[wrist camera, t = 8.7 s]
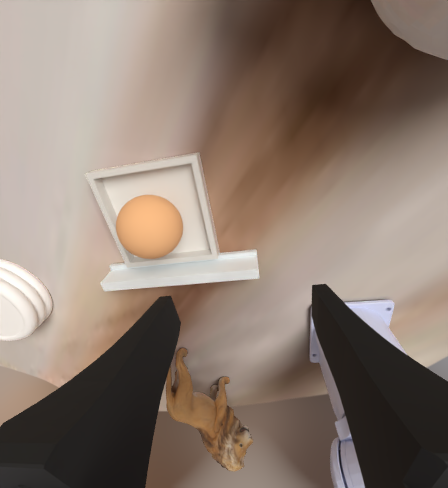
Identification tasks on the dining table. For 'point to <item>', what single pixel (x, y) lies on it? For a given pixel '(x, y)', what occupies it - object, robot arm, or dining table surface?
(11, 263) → the coaster
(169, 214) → the ball
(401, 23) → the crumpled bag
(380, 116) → the dining table surface
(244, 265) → the white picture ledge
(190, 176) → the tray
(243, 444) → the lion figurine
